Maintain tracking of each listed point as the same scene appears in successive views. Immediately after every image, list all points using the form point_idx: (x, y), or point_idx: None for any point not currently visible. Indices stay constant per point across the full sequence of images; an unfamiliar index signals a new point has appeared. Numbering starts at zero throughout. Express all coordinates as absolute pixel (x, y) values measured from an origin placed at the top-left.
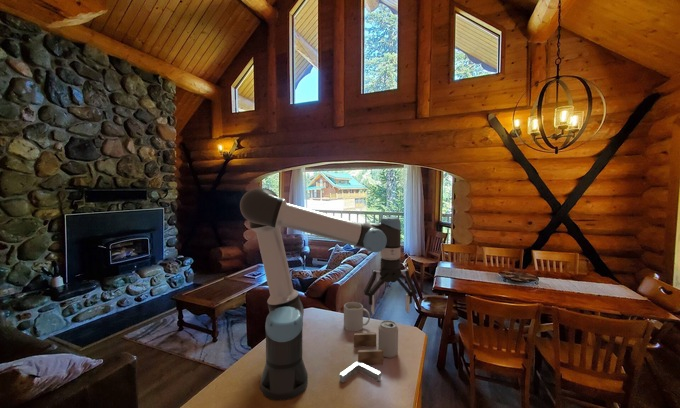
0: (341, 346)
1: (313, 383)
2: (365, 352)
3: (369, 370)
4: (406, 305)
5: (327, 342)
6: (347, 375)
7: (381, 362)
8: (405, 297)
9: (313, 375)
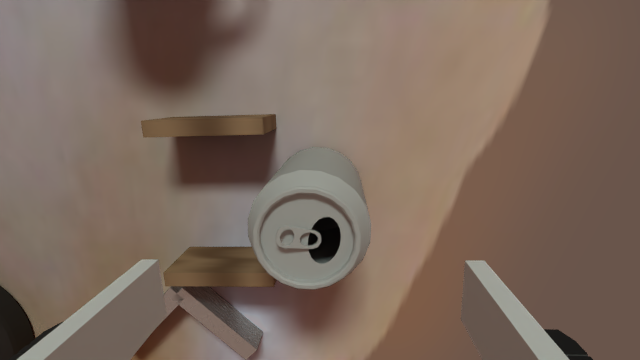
0: (117, 123)
1: None
2: (196, 285)
3: (218, 335)
4: (486, 329)
5: (49, 85)
6: None
7: None
8: (531, 347)
9: (43, 298)
